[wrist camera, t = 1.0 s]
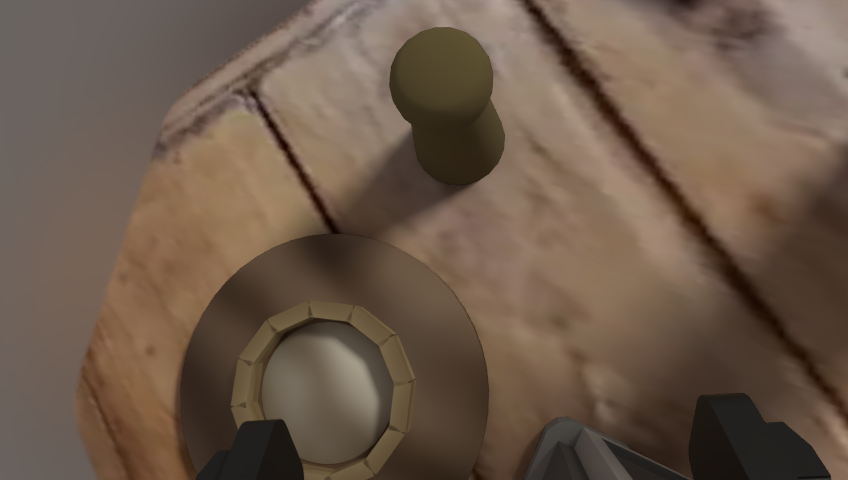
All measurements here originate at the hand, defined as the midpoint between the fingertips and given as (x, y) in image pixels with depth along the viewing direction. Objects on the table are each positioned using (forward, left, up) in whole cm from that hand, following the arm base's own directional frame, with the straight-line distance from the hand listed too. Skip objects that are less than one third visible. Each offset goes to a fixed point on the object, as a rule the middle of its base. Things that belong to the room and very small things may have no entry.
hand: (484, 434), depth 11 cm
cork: (-10, -11, -24) cm, 28 cm away
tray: (+8, -8, -24) cm, 26 cm away
